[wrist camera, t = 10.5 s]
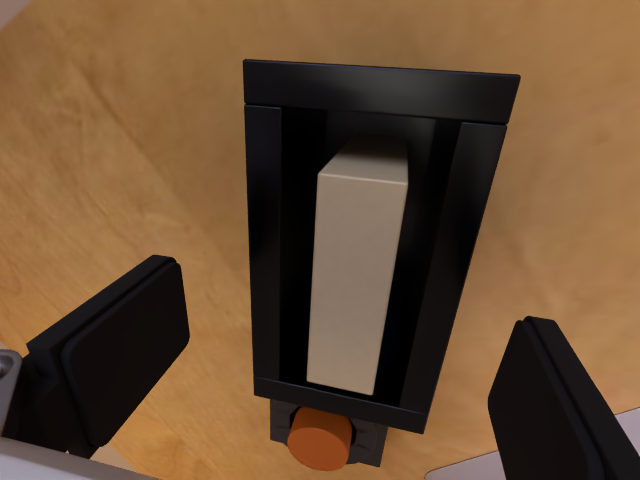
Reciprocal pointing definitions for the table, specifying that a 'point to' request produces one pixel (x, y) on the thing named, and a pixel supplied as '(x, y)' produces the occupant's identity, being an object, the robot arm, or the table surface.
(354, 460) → the button box
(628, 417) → the u-slot stand
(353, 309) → the white flat square block
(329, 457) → the button
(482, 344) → the table surface
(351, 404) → the toaster
